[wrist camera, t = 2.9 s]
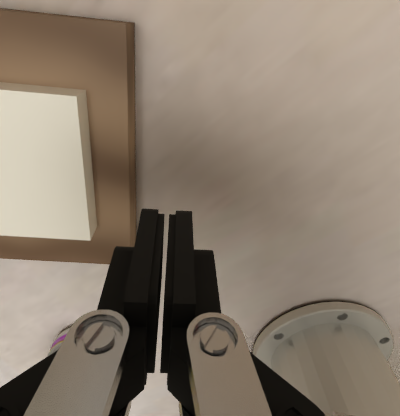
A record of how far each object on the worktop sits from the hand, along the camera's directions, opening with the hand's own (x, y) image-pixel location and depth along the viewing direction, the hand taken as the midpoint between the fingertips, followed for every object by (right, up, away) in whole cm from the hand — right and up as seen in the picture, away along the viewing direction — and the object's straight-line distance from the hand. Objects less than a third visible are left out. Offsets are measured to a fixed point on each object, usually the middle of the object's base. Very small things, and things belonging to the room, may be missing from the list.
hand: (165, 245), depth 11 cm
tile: (-8, +4, +6) cm, 11 cm away
